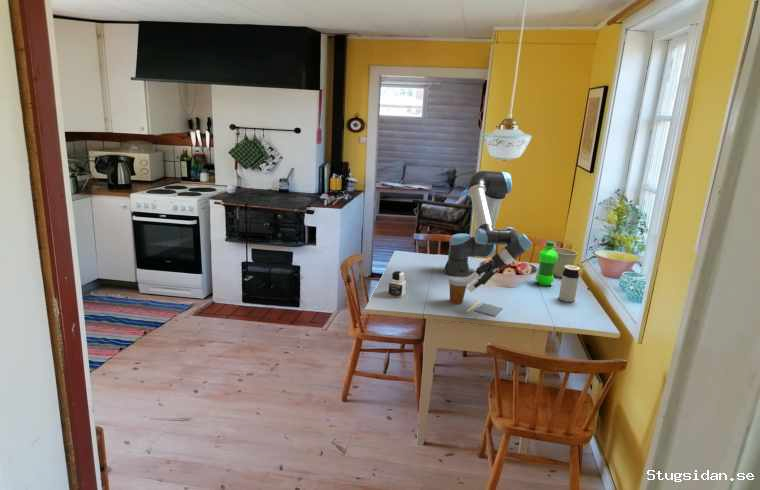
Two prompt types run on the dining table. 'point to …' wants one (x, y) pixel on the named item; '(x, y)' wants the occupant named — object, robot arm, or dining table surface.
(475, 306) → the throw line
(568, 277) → the travel mug
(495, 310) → the mat
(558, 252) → the plant pot
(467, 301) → the dining table surface
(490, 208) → the robot arm
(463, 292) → the disposable coffee cup
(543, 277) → the plastic bottle
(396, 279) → the medicine bottle
